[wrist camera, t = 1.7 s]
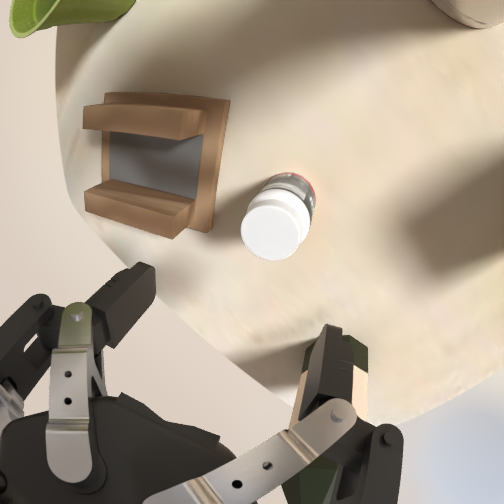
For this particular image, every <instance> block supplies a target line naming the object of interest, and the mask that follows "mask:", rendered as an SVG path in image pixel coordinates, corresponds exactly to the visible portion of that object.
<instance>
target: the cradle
mask: <svg viewBox="0 0 504 504" xmlns="http://www.w3.org/2000/svg"><path fill="white" fill-rule="evenodd" d="M229 106H230V100H223V99H215V98H207V97H198V96H188V95H177V94H162V93H140V92H109V93H105V96H104V104H97V105H90V106H84V110H83V129H92V130H102V183H101V184H99V185H96V186H94V187H92V188H90V189H88V190H86V191H84V200H85V211H87V212H90V213H93V214H96V215H99V216H102V217H105V218H108V219H111V220H114V221H117V222H120V223H123V224H126V225H129V226H132V227H135V228H138V229H141V230H144V231H148V232H151V233H154V234H157V235H160V236H163V237H166V238H169V239H174V238H175V237H176V236H177V235H178V234H179V233H180V232H181V231H182V230H184V229H185V228H186V227H187V228H191V229H194V230H197V231H201V232H204V233H208V232H209V231H210V230H211V229H212V221H213V213H214V205H215V198H216V190H217V183H218V176H219V169H220V162H221V155H222V149H223V142H224V136H225V130H226V124H227V118H228V112H229Z"/></svg>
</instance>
